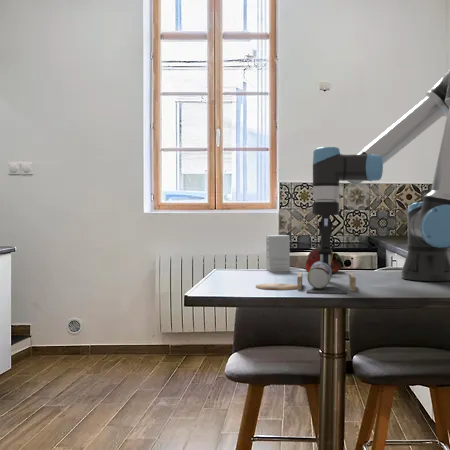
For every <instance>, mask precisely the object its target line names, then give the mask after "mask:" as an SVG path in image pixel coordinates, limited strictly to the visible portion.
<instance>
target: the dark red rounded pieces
mask: <svg viewBox="0 0 450 450" xmlns="http://www.w3.org/2000/svg"><path fill="white" fill-rule="evenodd" d="M320 249H321V248H320V246H319V247H316V248H313V249H312V250H311V251H310V252H309V253H308V255H307V256H306V260H305V261H306V262H305V267H304V268H305V271H306V272H307V274H308V273H309V271H310V269H311V267H312V265H313V264H314V263H315V262H317V261H320V255H319V251H321V250H320ZM330 255H331V267H332V274H333V273H334V274H335V273H337V272H339V271H340V270H341V269H342V268H344V267H345V264H344V263H343V261H342V258H341V257H340V255H339V253H337V252H333V249H331V253H330Z"/></svg>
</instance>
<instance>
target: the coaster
mask: <svg viewBox="0 0 450 450" xmlns="http://www.w3.org/2000/svg"><path fill="white" fill-rule="evenodd" d="M255 288H256V289H260V290H265V291H266V290H267V291H289V290H290V291H292V290H297V284H294V283H293V284H292V283H261V284H257V285H255Z"/></svg>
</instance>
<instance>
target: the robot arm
mask: <svg viewBox="0 0 450 450" xmlns="http://www.w3.org/2000/svg"><path fill="white" fill-rule="evenodd" d="M442 117H446V120H445V124H444V130H443V134H442V137H441V142H440V143H441V144H440V147H439V153H438V157H437V162H436V167H435V171H434V176H433V181H432V185H431V190H430V191H429V192H428V193H426V194H425V195H423V200H422V201H419V202H418V201H417V202H414V203H411V204H410V205H409V206H408V209H407V255H406V257H405V260H404V263H403V266H402V269H401V279H403V280H410V281H422V282H447V281H448V282H449V281H450V257H449V256H450V255H449V247H450V68H448V70H446V72H445V73H444V75H443V76H441V78H440V79H439V80H438V81H437V83H435V84H434V86H433V87H431V88H430V89H429V90H428V91H426V94H425V98H423V99H422V100H421V101H419V102H418V104H416V105H415V106H414V107H412V108H411V109H410V110H409V111H407V112H406V113H405V114H404V115H402V116H401V117H400V118H399V119H398V120H397V121H395V122H394V123H393V124H392V125H390V126H389V127H388V128H387V129H386V130H384V131H383V132H382V133H381V134H379V135H378V136H377V137H376V138H375V139H373V140H372V141H371V142H370V143H369V144H367V145H366V146H365V147H364V148H362V149H361V150H360V151H359V152H358V153H356V154H341V152H340V149H339V147H337V146H336V147H335V146H319V147H317V148H315V149H314V150H313V153H312V154H313V157H312V189H311V190H310V193H311V194H312V200H313V201H314V202H313V203H312V215H314V216H321V218H320V221H318V228H319V232H318V233H319V236H320V246H319V247H320V248H321V249H320V250H321V251H319V255H320V261H323V262H324V263H326V264H329V265H330V266H331V255H330V253H331V250H332V248H331V236H333V226H334V223H333V221H332V219H331V216H338V215H339V213H340V203H339V202H338V201H339V200H340V182H341V181H342V182H343V181H345V182H346V181H347V182H348V183H350V184H354V185H358V184H362V182H372V181H373V182H374V181H375V182H376V181H380V180H381V179H382V177H383V173H384V165H385V163H386V162H388V161H389V160H390V159H392V158H393V157H394V156H395V155H396V154H398V153H399V152H401V150H403V149H404V148H405V147H406V146H407V145H409V144H410V143H411V142H413V140H415V139H416V138H417V137H419V136H420V135H421V134H422V133H424V132H425V131H426V130H427V129H429V128H430V127H431V126H432V125H433V124H435V123H436V122H437V121H438V120H440V119H441V118H442Z"/></svg>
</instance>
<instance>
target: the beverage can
mask: <svg viewBox="0 0 450 450" xmlns="http://www.w3.org/2000/svg"><path fill="white" fill-rule="evenodd" d="M332 276H333V273H332V267H331V266H330V265H329V264H326V263H324V262H323V261H317V262H315V263H314V264H313V265H312V267H311V269H310V271H309V273H308V272H307V280H308V284H309V285H310V286H311V287H313V288H314V289H316V290H322V289H324V288H326V287H328V285H329V284H330V282H331V280H332Z"/></svg>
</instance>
